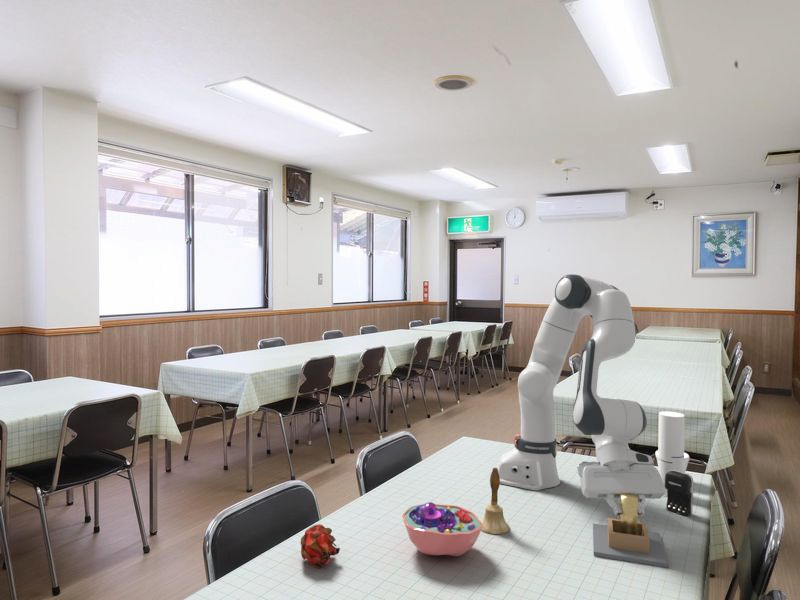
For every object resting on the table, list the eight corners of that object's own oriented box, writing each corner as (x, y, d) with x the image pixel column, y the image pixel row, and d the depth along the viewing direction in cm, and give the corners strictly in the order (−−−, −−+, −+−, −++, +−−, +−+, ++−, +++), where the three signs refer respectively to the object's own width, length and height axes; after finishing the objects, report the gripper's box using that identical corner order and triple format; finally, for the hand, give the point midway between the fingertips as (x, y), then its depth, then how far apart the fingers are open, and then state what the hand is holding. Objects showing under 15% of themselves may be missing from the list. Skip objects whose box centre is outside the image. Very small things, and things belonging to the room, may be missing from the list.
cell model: (464, 579, 116) (464, 529, 116) (388, 555, 127) (388, 508, 127) (493, 547, 131) (493, 502, 131) (422, 528, 141) (422, 486, 141)
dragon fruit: (313, 553, 131) (328, 585, 120) (286, 540, 127) (299, 572, 117) (334, 524, 132) (350, 552, 121) (307, 510, 128) (322, 539, 118)
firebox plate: (593, 555, 127) (593, 537, 127) (592, 527, 142) (593, 510, 142) (667, 567, 121) (668, 548, 121) (658, 536, 137) (659, 519, 136)
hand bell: (490, 518, 148) (490, 461, 147) (515, 527, 142) (516, 468, 141) (472, 527, 142) (472, 468, 141) (497, 538, 136) (498, 476, 135)
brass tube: (620, 538, 130) (621, 498, 130) (619, 531, 134) (619, 492, 134) (638, 540, 129) (638, 500, 129) (636, 533, 133) (637, 494, 132)
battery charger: (662, 509, 153) (662, 470, 153) (669, 506, 155) (670, 467, 155) (686, 518, 147) (687, 477, 147) (693, 515, 149) (694, 475, 149)
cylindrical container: (686, 499, 160) (688, 417, 159) (661, 497, 162) (662, 416, 161) (679, 490, 167) (680, 411, 166) (655, 488, 169) (656, 410, 168)
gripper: (578, 456, 138) (590, 508, 129) (657, 456, 138) (675, 509, 128) (573, 467, 143) (584, 518, 134) (650, 467, 142) (667, 519, 133)
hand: (629, 514), depth 131 cm, fingers closed on brass tube, 4 cm apart
